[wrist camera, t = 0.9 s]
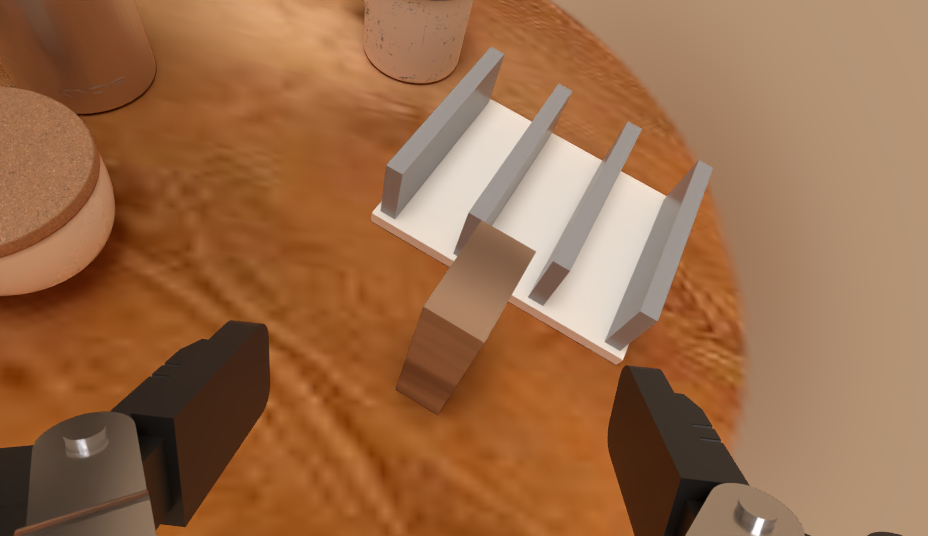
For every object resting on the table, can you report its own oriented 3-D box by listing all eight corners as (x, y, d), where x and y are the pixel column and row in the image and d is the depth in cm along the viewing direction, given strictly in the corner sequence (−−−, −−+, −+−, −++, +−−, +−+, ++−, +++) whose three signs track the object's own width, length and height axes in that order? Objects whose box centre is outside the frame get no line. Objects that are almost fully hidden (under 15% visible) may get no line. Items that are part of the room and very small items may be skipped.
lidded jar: (170, 200, 36) (123, 93, 28) (84, 345, 30) (-6, 263, 22) (4, 157, 35) (-94, 34, 27) (-116, 299, 29) (-284, 197, 21)
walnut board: (437, 415, 33) (484, 343, 22) (395, 389, 33) (423, 306, 23) (477, 344, 35) (536, 251, 25) (439, 320, 36) (481, 220, 26)
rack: (616, 364, 37) (661, 331, 32) (370, 221, 38) (376, 166, 33) (676, 212, 45) (719, 166, 40) (472, 99, 47) (489, 41, 42)
